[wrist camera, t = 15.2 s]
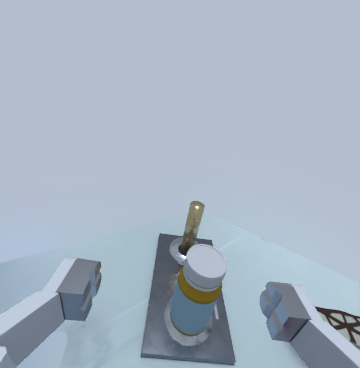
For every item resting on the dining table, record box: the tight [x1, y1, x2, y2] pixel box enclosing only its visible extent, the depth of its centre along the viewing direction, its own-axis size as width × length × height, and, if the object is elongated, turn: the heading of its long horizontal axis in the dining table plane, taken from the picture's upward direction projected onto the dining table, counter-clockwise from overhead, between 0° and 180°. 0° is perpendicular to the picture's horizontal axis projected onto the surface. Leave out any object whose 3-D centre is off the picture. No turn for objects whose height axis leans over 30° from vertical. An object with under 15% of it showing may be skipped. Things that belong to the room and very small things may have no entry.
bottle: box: [170, 244, 227, 336], centre depth 31 cm, size 7×7×15 cm
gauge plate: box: [141, 201, 236, 365], centre depth 39 cm, size 15×27×15 cm, turn 179°
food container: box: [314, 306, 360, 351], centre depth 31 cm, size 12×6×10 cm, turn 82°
